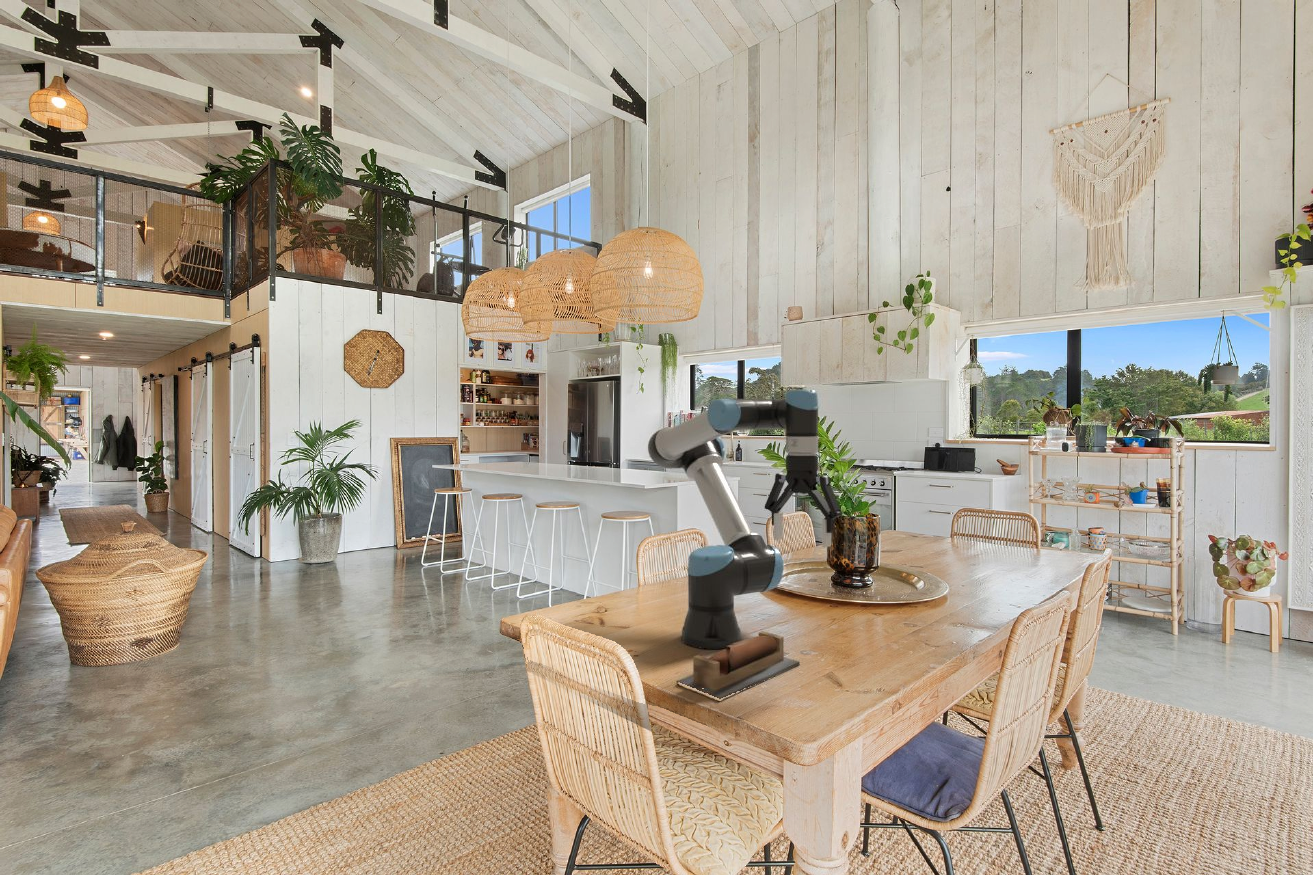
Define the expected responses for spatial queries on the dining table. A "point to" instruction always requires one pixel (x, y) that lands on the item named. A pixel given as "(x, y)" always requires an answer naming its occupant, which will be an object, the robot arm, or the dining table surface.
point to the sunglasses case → (743, 652)
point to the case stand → (738, 671)
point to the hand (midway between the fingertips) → (801, 542)
